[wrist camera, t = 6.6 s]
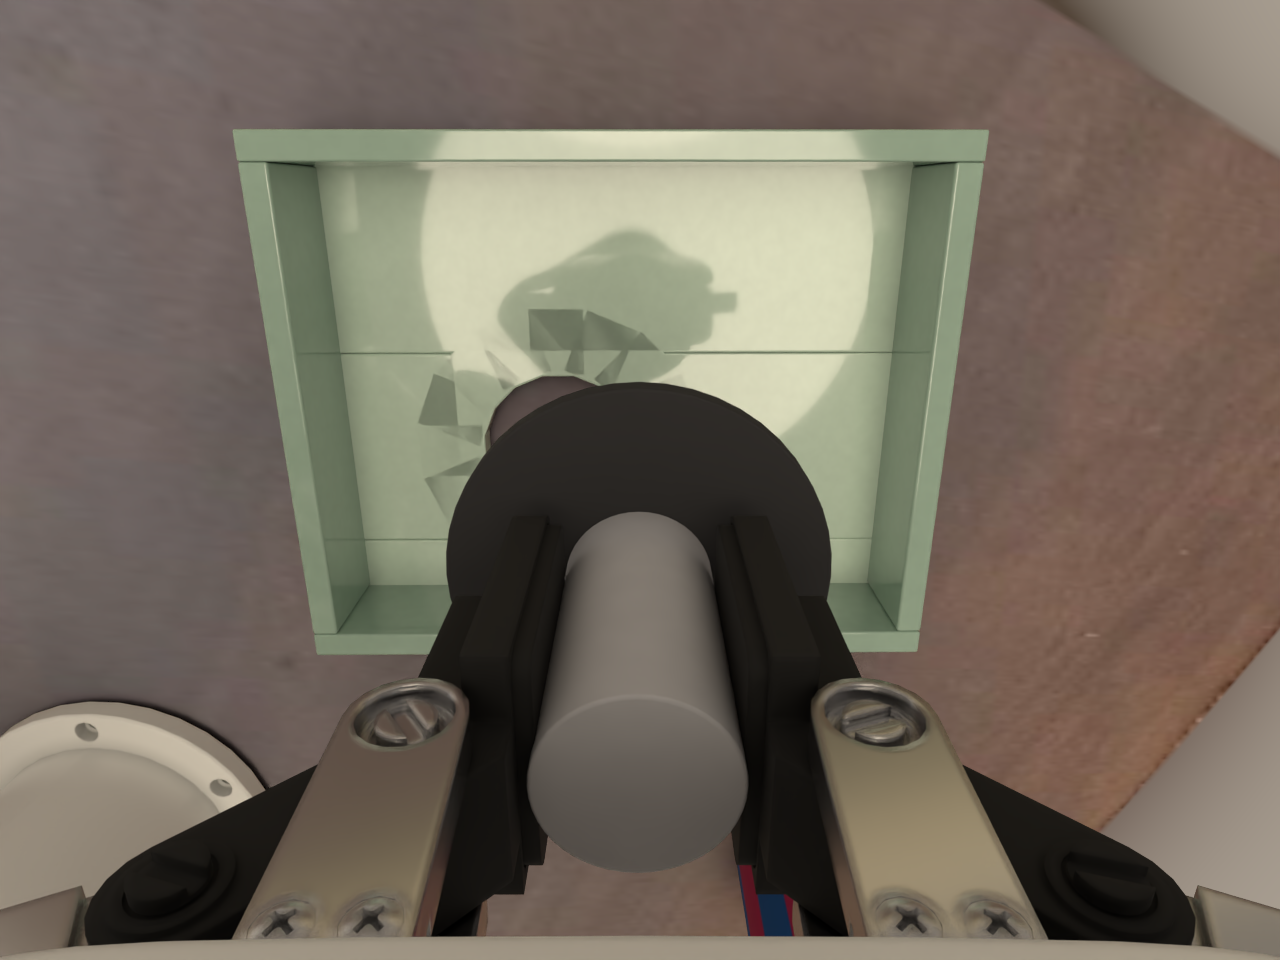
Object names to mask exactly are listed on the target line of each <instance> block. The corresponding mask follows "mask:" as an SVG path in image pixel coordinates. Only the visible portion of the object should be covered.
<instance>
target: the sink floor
mask: <svg viewBox="0 0 1280 960" xmlns="http://www.w3.org/2000/svg"><path fill="white" fill-rule="evenodd" d="M314 167H316V169H317V177H318V184H319V192H320V200H321V207H322V215H323V223H324V230H325V238H326V246H327V254H328V261H329V269H330V277H331V284H332V292H333V300H334V307H335V315H336V323H337V330H338V338H339V346H340V352H341V353H342V354H341V361H342V369H343V377H344V384H345V392H346V400H347V407H348V415H349V423H350V431H351V438H352V446H353V454H354V461H355V469H356V477H357V484H358V492H359V500H360V508H361V515H362V523H363V531H364V538H365V539H366V540H365V546H366V554H367V561H368V569H369V577H370V585H448V581H447V575H446V549H447V541H448V533H449V528H450V524H451V520H452V517H453V513H454V510H455V507H456V504H457V502H458V500H459V498H460V495H461V493H462V491H463V489H464V487H465V485H466V483H467V481H468V479H469V478H470V476H471V475H472V473H473V471H474V470H475V468H476V467H477V465H478V464H479V462H480V460H481V459H482V457H483V456H484V455H485V454H486V452H487V451H488V450H489V449H490V448H491V444H490V430H489V429H490V426H491V423H492V421H493V418H494V415H495V412H496V410H497V407H498V405H499V404H500V403H501V402H502V401H503V400H504V399H505V398H506V397H507V396H508V395H509V394H510V393H511V392H512V391H513V390H514V389H515V388H516V387H519V386H521V385H524V384H526V383H528V382H531V381H533V380H536V379H538V378H540V377H543V376H574V377H577V378H579V379H582V380H584V381H586V382H589V383H591V384H594V385H596V386H602V385H607V384H612V383H627V382H651V383H666V384H671V385H676V386H681V387H686V388H691V389H694V390H697V391H700V392H703V393H706V394H709V395H712V396H715V397H718V398H720V399H722V400H724V401H726V402H728V403H730V404H732V405H734V406H736V407H738V408H740V409H742V410H743V411H745V412H746V413H748V414H749V415H751V416H752V417H753V418H755V419H756V420H758V421H759V422H761V423H762V424H763V425H764V426H766V427H767V428H768V429H769V430H770V431H771V432H772V433H773V434H774V435H776V436H777V437H778V438H779V439H780V440H781V441H782V442H783V444H784V445H785V446H786V447H787V448H788V449H789V451H790V452H791V453H792V454H793V455H794V457H795V458H796V459H797V461H798V462H799V464H800V466H801V467H802V469H803V470H804V472H805V474H806V475H807V477H808V478H809V480H810V482H811V484H812V485H813V487H814V490H815V492H816V494H817V496H818V499H819V501H820V503H821V506H822V508H823V511H824V515H825V518H826V522H827V526H828V529H829V535H830V543H831V552H832V564H831V580H830V583H868V581H867V578H868V569H869V560H870V551H871V542H872V539H871V538H872V532H873V523H874V514H875V505H876V496H877V487H878V477H879V468H880V459H881V450H882V441H883V432H884V422H885V413H886V404H887V395H888V386H889V377H890V367H891V358H892V353H891V352H892V349H893V340H894V331H895V321H896V312H897V303H898V294H899V285H900V276H901V266H902V257H903V248H904V239H905V230H906V221H907V211H908V202H909V193H910V184H911V175H912V169H913V167H915V166H314Z"/></svg>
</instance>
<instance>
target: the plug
mask: <svg viewBox="0 0 1280 960" xmlns="http://www.w3.org/2000/svg"><path fill="white" fill-rule="evenodd" d="M513 516H549V519H550V525H562V527H563V541H564V568H565V584H564V589H563V595H562V600H561V605H560V611H559V616H558V621H557V626H556V632H555V637H554V642H553V647H552V653H551V658H550V663H549V668H548V674H547V679H546V684H545V689H544V695H543V700H542V705H541V710H540V716H539V721H538V726H537V732H536V737H535V742H534V745H533V748H532V751H531V755H530V760H529V766H528V771H527V793H528V799H529V802H530V805H531V808H532V811H533V813H534V815H535V817H536V819H537V821H538V823H539V824H540V826H541V827H542V829H543V830H544V832H545V833H546V834H547V835H548V836H549V837H550V838H551V839H552V840H553V841H554V842H555V843H556V844H557V845H558V846H560V847H561V848H562V849H563V850H565V851H566V852H568V853H569V854H571V855H572V856H574V857H576V858H578V859H580V860H582V861H584V862H586V863H589V864H592V865H594V866H597V867H601V868H605V869H608V870H614V871H620V872H633V873H643V872H655V871H662V870H667V869H671V868H675V867H678V866H681V865H684V864H687V863H689V862H691V861H693V860H695V859H697V858H699V857H701V856H703V855H705V854H706V853H708V852H709V851H711V850H712V849H714V848H715V847H716V846H717V845H718V844H719V843H721V842H722V841H723V840H724V839H725V838H726V836H727V835H728V834H729V833H730V832H731V831H732V829H733V828H734V826H735V825H736V823H737V822H738V820H739V818H740V816H741V814H742V812H743V809H744V806H745V803H746V800H747V794H748V787H749V784H748V771H747V765H746V760H745V754H744V749H743V743H742V738H741V732H740V727H739V721H738V716H737V710H736V705H735V699H734V694H733V688H732V682H731V677H730V671H729V666H728V660H727V655H726V649H725V644H724V638H723V633H722V627H721V622H720V616H719V611H718V605H717V600H716V594H715V589H714V588H715V561H716V535H717V526H718V525H729V524H730V518H731V516H767V518H768V520H769V523H770V525H771V528H772V531H773V533H774V536H775V538H776V541H777V544H778V546H779V549H780V551H781V554H782V556H783V559H784V562H785V564H786V567H787V569H788V572H789V575H790V577H791V580H792V582H793V585H794V588H795V590H796V593H797V595H798V596H824V597H825V599H826V600H827V598H828V592H829V586H830V580H831V564H832V552H831V543H830V535H829V529H828V526H827V522H826V518H825V515H824V511H823V508H822V506H821V503H820V501H819V499H818V496H817V494H816V492H815V490H814V487H813V485H812V484H811V482H810V480H809V478H808V477H807V475H806V474H805V472H804V470H803V469H802V467H801V466H800V464H799V462H798V461H797V459H796V458H795V457H794V455H793V454H792V453H791V452H790V451H789V449H788V448H787V447H786V446H785V445H784V444H783V442H782V441H781V440H780V439H779V438H778V437H777V436H776V435H774V434H773V433H772V432H771V431H770V430H769V429H768V428H767V427H766V426H764V425H763V424H762V423H761V422H759V421H758V420H756V419H755V418H753V417H752V416H751V415H749V414H748V413H746V412H745V411H743V410H742V409H740V408H738V407H736V406H734V405H732V404H730V403H728V402H726V401H724V400H722V399H720V398H718V397H715V396H712V395H709V394H706V393H703V392H700V391H697V390H694V389H691V388H686V387H681V386H676V385H671V384H666V383H651V382H627V383H612V384H607V385H602V386H596V387H591V388H586V389H583V390H580V391H577V392H574V393H571V394H568V395H565V396H562V397H560V398H558V399H556V400H554V401H552V402H550V403H547V404H545V405H543V406H541V407H539V408H538V409H536V410H535V411H533V412H531V413H530V414H528V415H527V416H525V417H524V418H522V419H521V420H519V421H518V422H517V423H515V424H514V425H513V426H512V427H511V428H510V429H509V430H508V431H506V432H505V433H504V434H503V435H502V436H501V437H500V438H499V439H498V440H497V441H496V442H495V443H494V444H493V445H492V447H491V448H490V449H489V450H488V451H487V452H486V454H485V455H484V456H483V457H482V459H481V460H480V462H479V464H478V465H477V467H476V468H475V470H474V471H473V473H472V475H471V476H470V478H469V479H468V481H467V483H466V485H465V487H464V489H463V491H462V493H461V495H460V498H459V500H458V502H457V504H456V507H455V510H454V513H453V517H452V520H451V524H450V528H449V533H448V541H447V549H446V575H447V581H448V587H449V593H450V598H451V602H453V600H454V598H455V597H456V596H482V595H483V592H484V589H485V587H486V584H487V582H488V579H489V577H490V574H491V571H492V569H493V566H494V564H495V561H496V558H497V556H498V553H499V551H500V548H501V545H502V543H503V540H504V538H505V535H506V532H507V530H508V527H509V525H510V522H511V520H512V517H513Z"/></svg>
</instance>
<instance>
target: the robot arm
mask: <svg viewBox="0 0 1280 960" xmlns="http://www.w3.org/2000/svg"><path fill="white" fill-rule="evenodd" d="M564 584H565V568H564V541H563V527H562V525H550V519H549V516H513V517H512V520H511V522H510V525H509V527H508V530H507V532H506V535H505V538H504V540H503V543H502V545H501V548H500V551H499V553H498V556H497V558H496V561H495V564H494V566H493V569H492V571H491V574H490V577H489V579H488V582H487V584H486V587H485V589H484V592H483V595H482V596H456V597H455V598H454V600H453V602H452V604H451V606H450V608H449V611H448V613H447V615H446V617H445V619H444V622H443V624H442V626H441V628H440V630H439V633H438V635H437V637H436V639H435V642H434V644H433V646H432V648H431V650H430V653H429V655H428V657H427V659H426V661H425V664H424V666H423V668H422V670H421V673H420V675H419V677H418V678H413V679H405V680H399V681H395V682H391V683H388V684H384V685H381V686H379V687H377V688H375V689H373V690H371V691H369V692H367V693H365V694H363V695H362V696H361V697H359V698H358V699H357V700H356V701H354V702H353V703H352V704H351V705H350V706H349V707H348V709H347V710H346V711H345V713H344V714H343V715H342V717H341V719H340V721H339V723H338V725H337V727H336V729H335V731H334V733H333V735H332V737H331V739H330V741H329V743H328V745H327V747H326V749H325V751H324V753H323V755H322V757H321V759H320V761H319V763H318V765H316V766H314V767H312V768H310V769H308V770H306V771H304V772H302V773H300V774H298V775H296V776H294V777H292V778H290V779H288V780H286V781H284V782H282V783H280V784H277V785H275V786H273V787H271V788H269V789H267V790H265V789H264V787H263V786H262V785H261V783H260V782H259V780H258V779H257V777H256V776H255V775H254V773H253V772H252V770H251V769H250V768H249V767H248V766H247V765H246V764H245V763H244V762H243V761H242V760H241V759H240V758H239V757H238V756H237V755H236V754H235V753H234V752H233V751H232V750H231V749H229V748H228V747H226V746H225V745H224V744H222V743H221V742H219V741H218V740H217V739H215V738H214V737H213V736H211V735H210V734H208V733H207V732H205V731H203V730H201V729H199V728H197V727H195V726H193V725H191V724H189V723H187V722H186V721H184V720H182V719H180V718H177V717H174V716H171V715H168V714H165V713H162V712H159V711H156V710H153V709H151V708H146V707H140V706H135V705H130V704H124V703H117V702H82V703H74V704H66V705H60V706H57V707H53V708H50V709H47V710H44V711H41V712H38V713H35V714H33V715H31V716H29V717H28V718H26V719H24V720H22V721H21V722H19V723H17V724H16V725H14V726H12V727H11V728H10V729H9V730H8V731H6V732H5V733H4V734H3V735H2V736H1V737H0V960H1280V909H1276V908H1273V907H1270V906H1266V905H1263V904H1259V903H1256V902H1253V901H1249V900H1246V899H1243V898H1239V897H1236V896H1232V895H1229V894H1226V893H1222V892H1219V891H1216V890H1212V889H1209V888H1205V887H1202V886H1199V885H1198V886H1197V889H1196V892H1195V895H1194V898H1193V897H1189V896H1186V895H1185V894H1184V893H1183V891H1182V890H1181V889H1180V888H1179V886H1178V885H1177V884H1176V882H1175V881H1174V880H1173V879H1172V878H1171V877H1170V876H1169V875H1168V874H1166V873H1165V872H1164V871H1163V870H1162V869H1161V868H1159V867H1158V866H1157V865H1156V864H1155V863H1154V862H1152V861H1151V860H1149V859H1147V858H1146V857H1144V856H1142V855H1141V854H1139V853H1137V852H1136V851H1134V850H1132V849H1131V848H1129V847H1127V846H1125V845H1123V844H1121V843H1119V842H1117V841H1115V840H1113V839H1111V838H1109V837H1107V836H1105V835H1103V834H1101V833H1099V832H1097V831H1095V830H1093V829H1091V828H1089V827H1087V826H1085V825H1083V824H1081V823H1079V822H1077V821H1075V820H1073V819H1071V818H1069V817H1067V816H1065V815H1063V814H1061V813H1059V812H1057V811H1055V810H1053V809H1051V808H1049V807H1047V806H1045V805H1042V804H1040V803H1038V802H1036V801H1034V800H1032V799H1030V798H1028V797H1026V796H1024V795H1022V794H1020V793H1018V792H1016V791H1014V790H1012V789H1010V788H1008V787H1006V786H1004V785H1002V784H1000V783H998V782H996V781H994V780H992V779H990V778H988V777H986V776H984V775H982V774H980V773H978V772H976V771H974V770H972V769H970V768H968V767H966V766H964V765H962V763H961V761H960V759H959V757H958V755H957V753H956V751H955V749H954V747H953V745H952V743H951V741H950V739H949V737H948V735H947V733H946V731H945V729H944V727H943V725H942V723H941V721H940V719H939V717H938V715H937V714H936V713H935V711H934V710H933V709H932V707H931V706H930V705H929V704H928V703H927V702H926V701H924V700H923V699H922V698H921V697H919V696H918V695H917V694H915V693H913V692H911V691H909V690H907V689H905V688H903V687H901V686H899V685H896V684H892V683H889V682H885V681H881V680H875V679H867V678H861V675H860V673H859V671H858V669H857V666H856V664H855V662H854V660H853V658H852V655H851V653H850V651H849V649H848V647H847V644H846V642H845V640H844V638H843V635H842V633H841V631H840V629H839V627H838V624H837V622H836V620H835V618H834V616H833V613H832V611H831V609H830V607H829V604H828V602H827V600H826V599H825V597H824V596H798V595H797V593H796V590H795V588H794V585H793V582H792V580H791V577H790V575H789V572H788V569H787V567H786V564H785V562H784V559H783V556H782V554H781V551H780V549H779V546H778V544H777V541H776V538H775V536H774V533H773V531H772V528H771V525H770V523H769V520H768V518H767V516H731V518H730V524H729V525H718V526H717V535H716V561H715V588H714V589H715V594H716V600H717V605H718V611H719V616H720V622H721V627H722V633H723V638H724V644H725V649H726V655H727V660H728V666H729V671H730V677H731V682H732V688H733V694H734V699H735V705H736V710H737V716H738V721H739V727H740V732H741V738H742V743H743V749H744V754H745V760H746V765H747V771H748V784H749V787H748V794H747V800H746V803H745V806H744V809H743V812H742V814H741V816H740V818H739V820H738V822H737V823H736V825H735V826H734V828H733V829H732V831H731V833H732V840H733V847H734V854H735V860H736V864H737V865H751V868H752V874H753V880H754V886H755V892H756V894H786V895H787V896H789V897H790V898H791V899H793V911H792V924H793V930H794V936H795V937H772V936H508V937H485V936H486V930H487V924H488V911H487V899H488V898H490V897H491V896H492V895H494V894H524V890H525V884H526V878H527V872H528V866H529V865H543V863H544V859H545V852H546V845H547V838H548V835H547V834H546V833H545V832H544V830H543V829H542V827H541V826H540V824H539V823H538V821H537V819H536V817H535V815H534V813H533V811H532V808H531V805H530V802H529V799H528V793H527V771H528V766H529V760H530V755H531V751H532V748H533V745H534V742H535V737H536V732H537V726H538V721H539V716H540V710H541V705H542V700H543V695H544V689H545V684H546V679H547V674H548V668H549V663H550V658H551V653H552V647H553V642H554V637H555V632H556V626H557V621H558V616H559V611H560V605H561V600H562V595H563V589H564Z"/></svg>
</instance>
